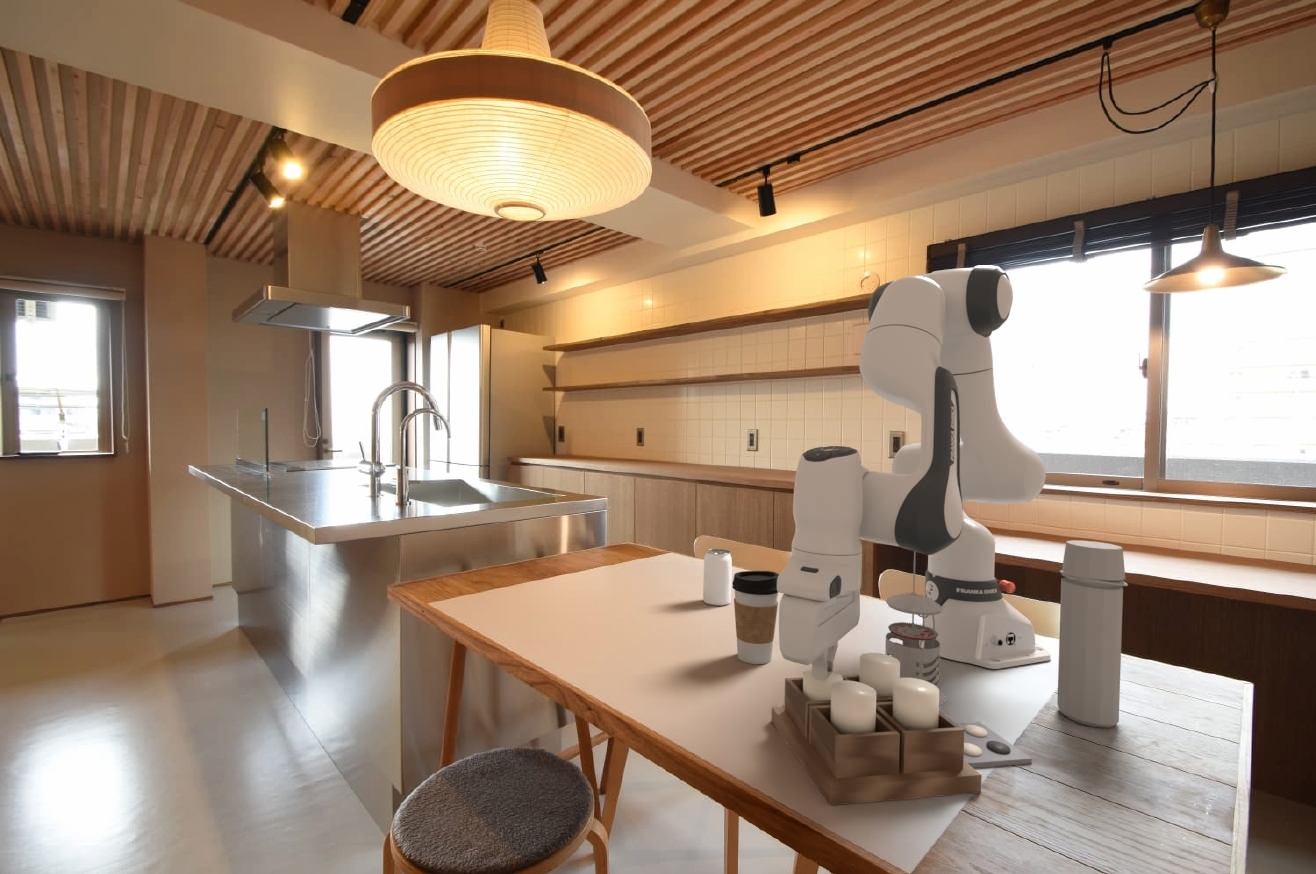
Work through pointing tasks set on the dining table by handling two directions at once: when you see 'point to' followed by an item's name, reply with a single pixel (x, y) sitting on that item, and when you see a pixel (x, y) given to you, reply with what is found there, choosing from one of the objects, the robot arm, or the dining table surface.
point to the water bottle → (1091, 632)
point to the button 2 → (853, 707)
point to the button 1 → (818, 686)
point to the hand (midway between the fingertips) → (822, 676)
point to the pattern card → (989, 747)
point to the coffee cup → (755, 614)
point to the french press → (915, 638)
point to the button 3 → (879, 672)
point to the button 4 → (915, 704)
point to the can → (717, 577)
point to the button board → (873, 753)
